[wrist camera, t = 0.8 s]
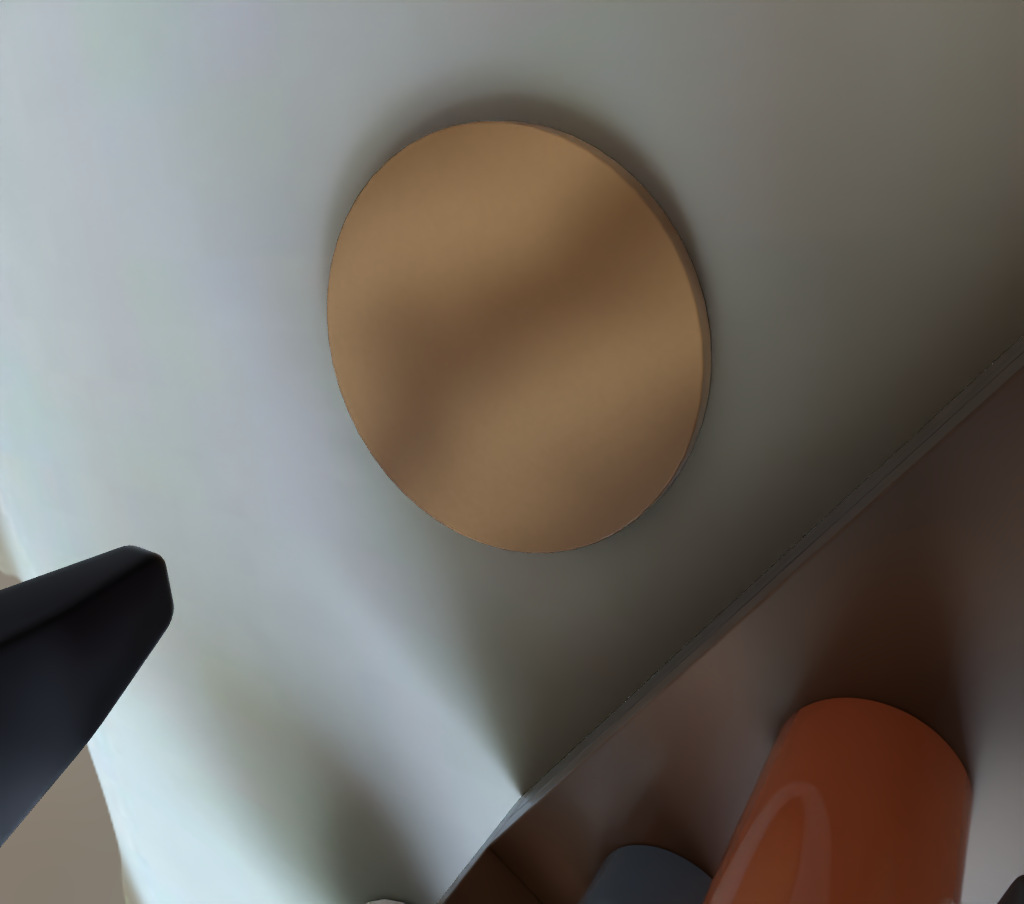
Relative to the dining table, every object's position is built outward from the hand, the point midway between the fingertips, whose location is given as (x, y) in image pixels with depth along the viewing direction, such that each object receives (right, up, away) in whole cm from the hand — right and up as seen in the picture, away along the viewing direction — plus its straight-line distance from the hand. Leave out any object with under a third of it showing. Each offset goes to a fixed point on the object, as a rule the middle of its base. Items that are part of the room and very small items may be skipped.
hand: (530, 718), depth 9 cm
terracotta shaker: (+7, -4, +9) cm, 12 cm away
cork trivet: (0, +5, +14) cm, 15 cm away
